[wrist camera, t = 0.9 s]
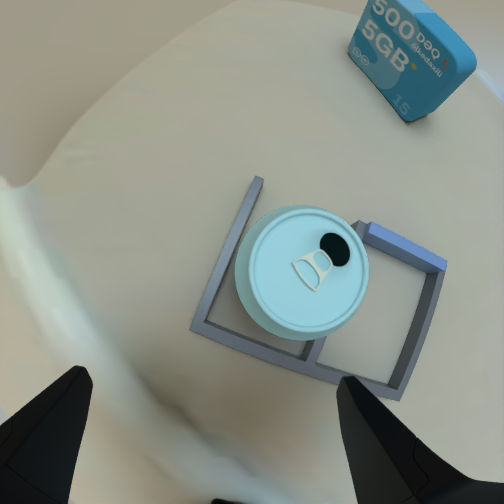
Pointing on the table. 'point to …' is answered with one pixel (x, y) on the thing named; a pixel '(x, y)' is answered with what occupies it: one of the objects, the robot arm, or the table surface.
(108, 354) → the table surface
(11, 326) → the table surface
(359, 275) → the can
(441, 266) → the grey flat frame
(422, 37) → the data package
